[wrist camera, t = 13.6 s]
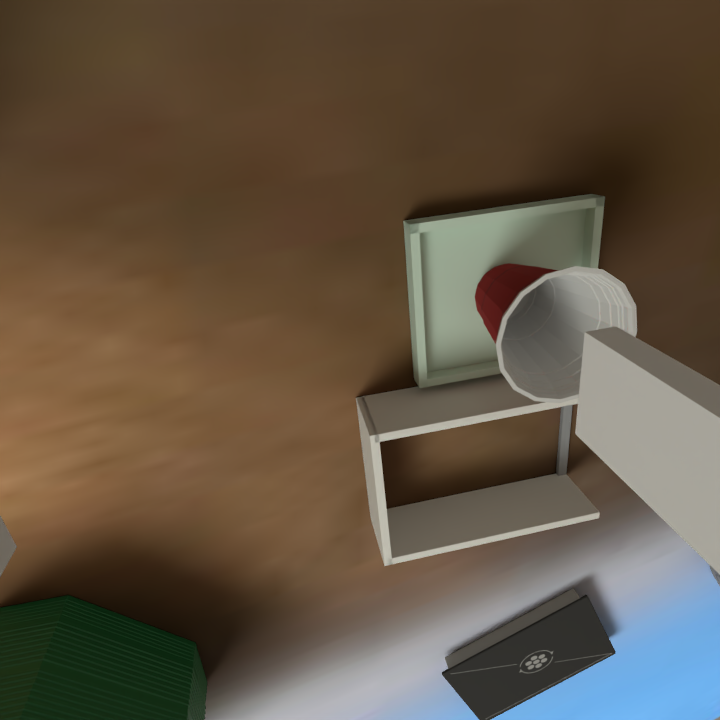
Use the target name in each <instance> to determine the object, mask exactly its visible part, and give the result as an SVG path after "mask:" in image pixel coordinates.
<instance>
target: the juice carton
mask: <svg viewBox="0 0 720 720" xmlns="http://www.w3.org/2000/svg"><path fill="white" fill-rule="evenodd" d="M710 569H711V571H712V574H713V576H714V577H715V579H716V581H717V582H718V584H719V586H720V574H719V573H718V572H717V571H715V570H714V569H713V568H712V567H711V566H710Z"/></svg>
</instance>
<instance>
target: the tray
mask: <svg viewBox="0 0 720 720" xmlns="http://www.w3.org/2000/svg"><path fill="white" fill-rule="evenodd" d="M604 202H605V197H604V196H600V195H595V194H587V195H580V196H572V197H565V198H558V199H551V200H544V201H537V202H530V203H523V204H516V205H509V206H502V207H495V208H488V209H481V210H474V211H467V212H460V213H453V214H446V215H439V216H432V217H425V218H418V219H411V220H404V235H405V250H406V266H407V281H408V296H409V312H410V327H411V342H412V357H413V373H414V380H415V382H416V383H417V385H418V387H419V388H424V387H430V386H435V385H441V384H446V383H452V382H457V381H463V380H468V379H473V378H479V377H484V376H490V375H495V374H501V371H500V368H499V362H498V356H497V349H496V344H495V342H494V341H493V339H492V337H491V335H490V334H489V332H488V330H487V328H486V326H485V325H484V323H483V319H482V318H481V316H480V314H479V313H478V311H477V307H476V302H475V293H476V289H477V285H478V283H479V282H480V280H481V279H482V277H483V276H484V274H486V273H487V272H488V271H490V270H491V269H492V268H494V267H496V266H499V265H503V264H508V263H511V264H520V265H527V266H536V267H542V268H548V269H553V270H561V269H565V268H568V267H572V266H579V267H587V268H595V269H598V262H599V252H600V242H601V232H602V222H603V212H604Z"/></svg>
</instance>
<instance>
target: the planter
mask: <svg viewBox="0 0 720 720" xmlns="http://www.w3.org/2000/svg"><path fill="white" fill-rule="evenodd" d="M206 693H207V680H206V676H205V673H204V670H203V666H202V663H201V660H200V656H199V653H198V650H197V646H196V643H195V642H193V641H190V640H187V639H185V638H182V637H179V636H177V635H174V634H171V633H169V632H166V631H163V630H161V629H158V628H155V627H153V626H150V625H147V624H145V623H142V622H139V621H137V620H134V619H131V618H129V617H126V616H123V615H121V614H118V613H115V612H113V611H110V610H107V609H105V608H102V607H99V606H97V605H94V604H91V603H89V602H86V601H83V600H81V599H78V598H75V597H72V596H70V595H66V596H61V597H56V598H50V599H45V600H39V601H34V602H28V603H23V604H18V605H12V606H7V607H1V608H0V720H204V719H205V709H206V706H205V701H206Z"/></svg>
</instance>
